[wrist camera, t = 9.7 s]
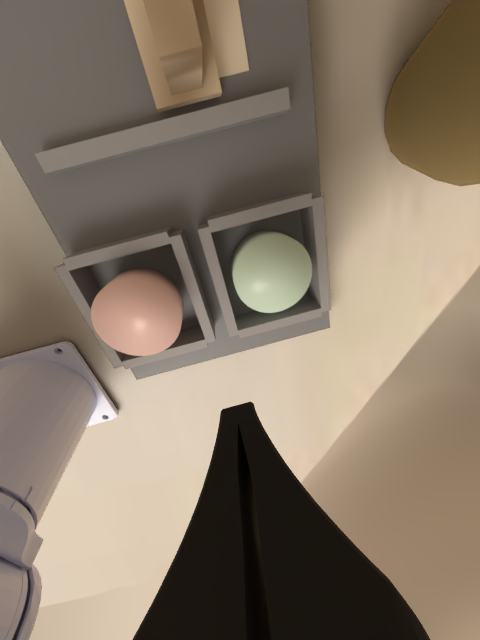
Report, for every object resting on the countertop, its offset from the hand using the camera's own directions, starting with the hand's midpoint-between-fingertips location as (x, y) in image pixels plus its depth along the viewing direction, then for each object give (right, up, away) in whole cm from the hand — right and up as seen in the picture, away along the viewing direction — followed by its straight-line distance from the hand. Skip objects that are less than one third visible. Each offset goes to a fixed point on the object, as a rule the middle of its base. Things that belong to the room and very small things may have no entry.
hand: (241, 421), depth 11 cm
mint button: (+1, +8, +5) cm, 9 cm away
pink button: (-6, +5, +4) cm, 9 cm away
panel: (-3, +12, +4) cm, 13 cm away
